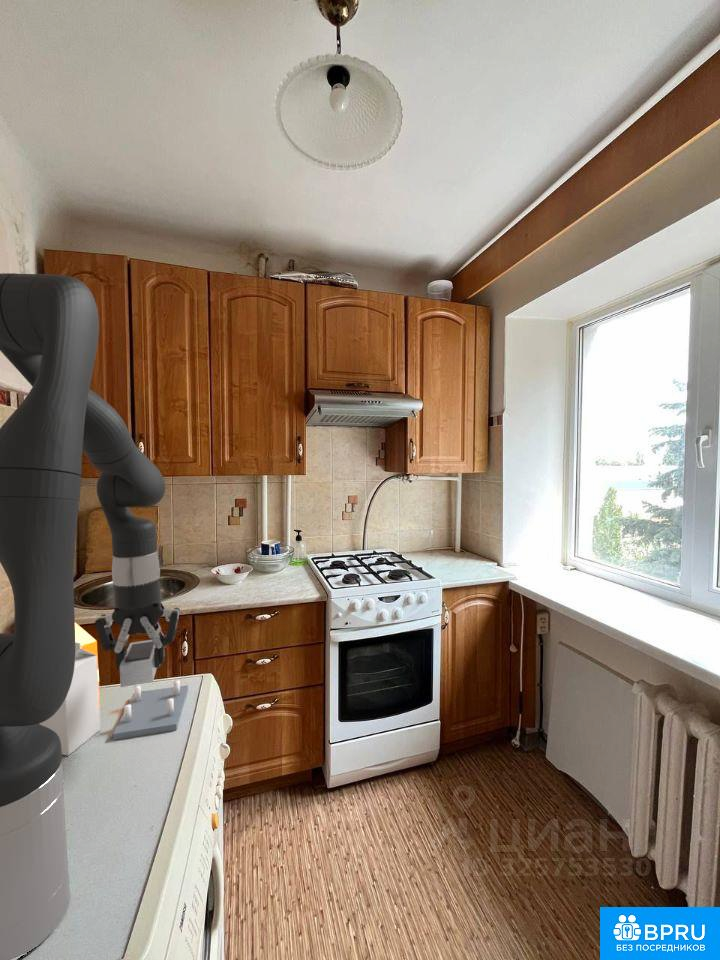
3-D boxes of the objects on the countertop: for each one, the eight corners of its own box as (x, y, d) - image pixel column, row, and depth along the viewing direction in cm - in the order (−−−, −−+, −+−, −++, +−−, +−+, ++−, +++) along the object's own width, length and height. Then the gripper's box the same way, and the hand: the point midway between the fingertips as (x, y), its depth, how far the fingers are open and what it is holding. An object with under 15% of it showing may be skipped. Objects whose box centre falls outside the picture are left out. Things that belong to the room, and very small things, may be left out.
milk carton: (68, 756, 73) (62, 652, 72) (35, 751, 75) (29, 648, 74) (101, 730, 80) (96, 634, 79) (70, 726, 82) (64, 631, 80)
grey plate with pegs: (176, 730, 80) (175, 709, 80) (113, 740, 77) (112, 718, 77) (188, 690, 94) (187, 672, 93) (134, 697, 91) (133, 679, 91)
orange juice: (57, 728, 81) (51, 628, 80) (42, 711, 86) (36, 617, 85) (101, 708, 87) (96, 615, 86) (84, 694, 93) (80, 606, 91)
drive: (152, 681, 73) (151, 659, 73) (120, 687, 71) (119, 664, 71) (160, 657, 81) (159, 637, 81) (131, 661, 80) (130, 641, 80)
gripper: (83, 587, 70) (89, 684, 71) (175, 580, 73) (179, 672, 75) (100, 574, 77) (105, 662, 78) (182, 568, 80) (186, 652, 82)
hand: (141, 667), depth 76 cm, fingers closed on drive, 5 cm apart
